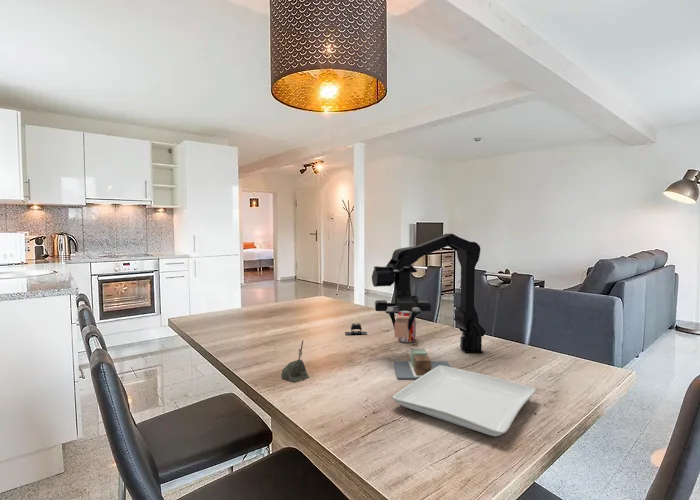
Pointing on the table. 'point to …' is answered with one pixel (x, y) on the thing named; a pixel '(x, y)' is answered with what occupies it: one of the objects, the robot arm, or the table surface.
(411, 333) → the soda can
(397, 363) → the mat
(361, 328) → the black angular block
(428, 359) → the walnut cube
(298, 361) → the sword in stone
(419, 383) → the square plate
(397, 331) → the cap block
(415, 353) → the green cube
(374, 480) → the table surface
